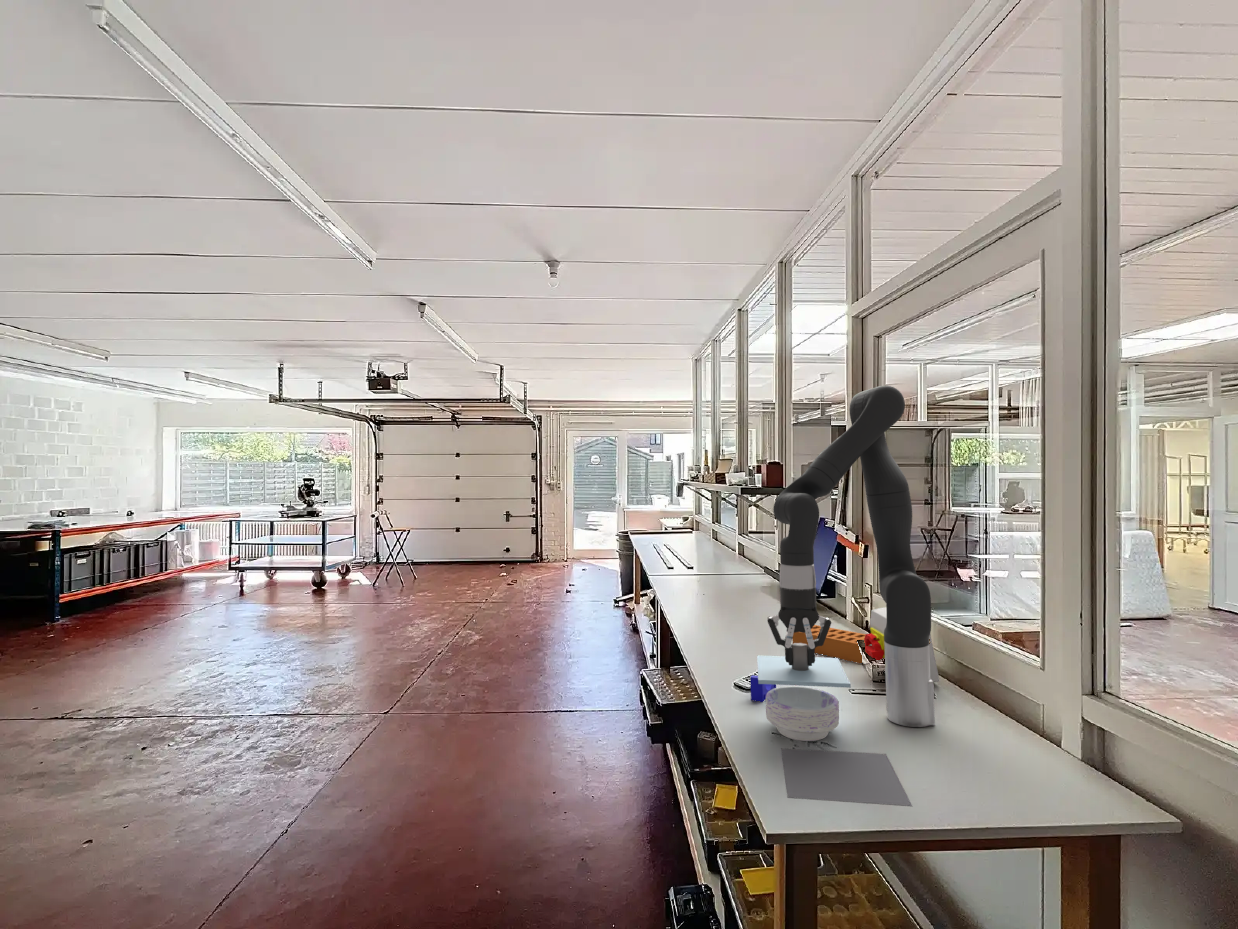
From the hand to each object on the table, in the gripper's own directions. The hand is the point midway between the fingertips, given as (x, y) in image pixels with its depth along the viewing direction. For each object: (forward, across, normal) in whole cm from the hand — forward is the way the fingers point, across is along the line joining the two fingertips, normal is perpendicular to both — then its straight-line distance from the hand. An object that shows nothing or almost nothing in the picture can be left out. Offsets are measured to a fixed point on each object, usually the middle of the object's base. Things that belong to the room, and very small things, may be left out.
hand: (799, 664), depth 137 cm
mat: (+15, -5, +20) cm, 25 cm away
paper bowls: (+15, 0, 0) cm, 15 cm away
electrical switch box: (+15, -28, -40) cm, 51 cm away
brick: (+15, -16, -66) cm, 69 cm away
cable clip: (+15, +8, -24) cm, 30 cm away
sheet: (+2, 0, 0) cm, 2 cm away
